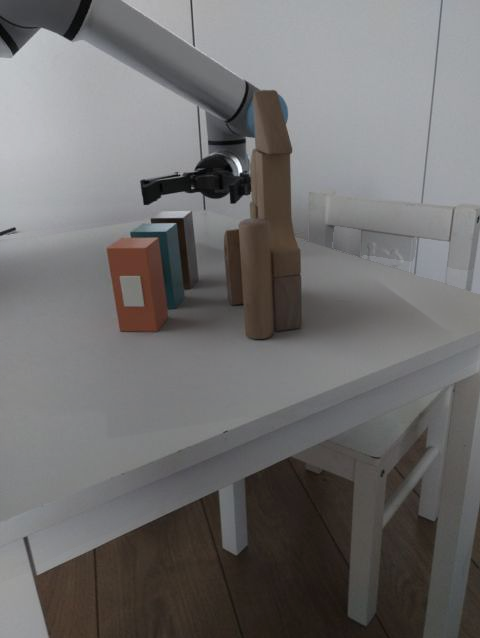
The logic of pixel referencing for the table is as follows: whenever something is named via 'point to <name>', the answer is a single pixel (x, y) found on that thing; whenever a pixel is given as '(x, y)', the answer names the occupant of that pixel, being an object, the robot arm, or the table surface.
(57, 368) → the table surface
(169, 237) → the teal letter block
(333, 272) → the table surface
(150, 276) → the terracotta letter block
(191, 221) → the walnut letter block
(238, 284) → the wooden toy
